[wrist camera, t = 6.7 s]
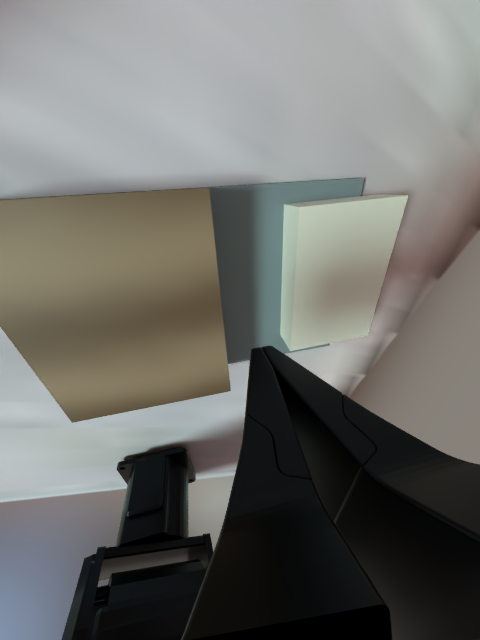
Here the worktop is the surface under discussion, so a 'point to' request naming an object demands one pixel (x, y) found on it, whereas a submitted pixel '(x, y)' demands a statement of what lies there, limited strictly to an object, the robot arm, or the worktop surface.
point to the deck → (114, 298)
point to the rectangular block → (335, 266)
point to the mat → (259, 256)
